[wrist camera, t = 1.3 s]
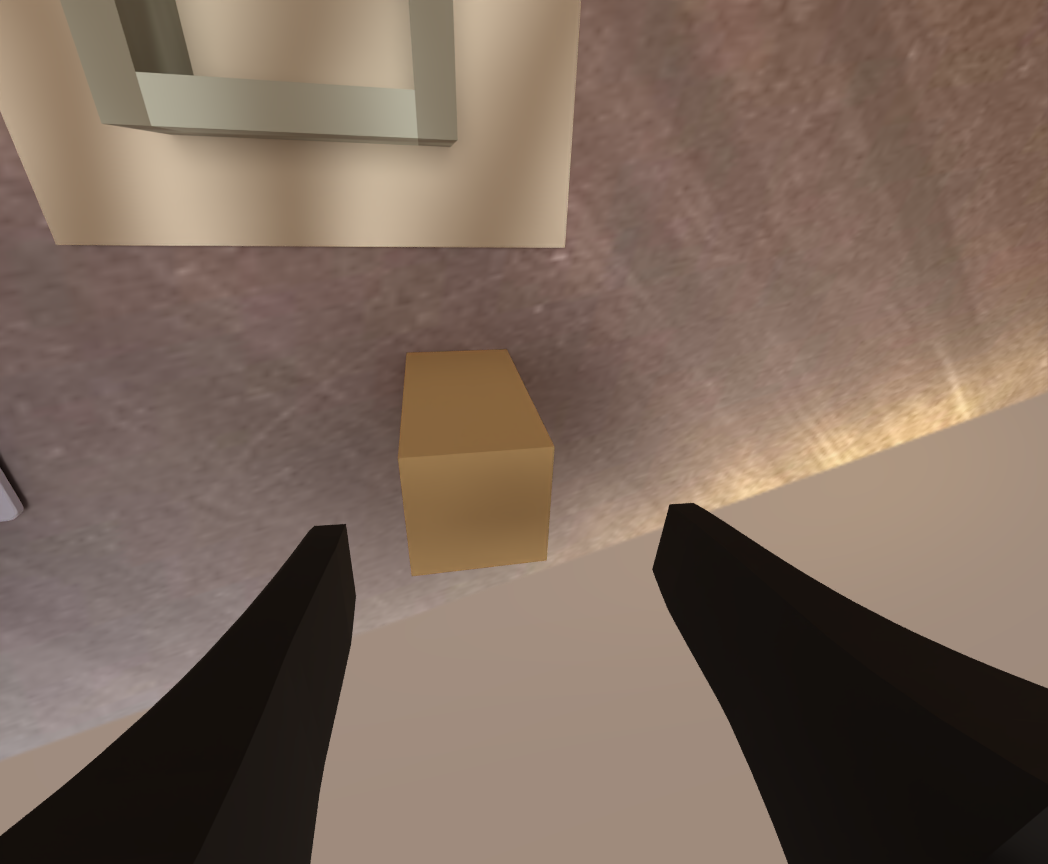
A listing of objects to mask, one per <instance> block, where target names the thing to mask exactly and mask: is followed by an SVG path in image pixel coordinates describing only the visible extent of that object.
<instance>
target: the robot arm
mask: <svg viewBox="0 0 1048 864" xmlns="http://www.w3.org/2000/svg"><path fill="white" fill-rule="evenodd" d="M23 509H24V508H23V505H22V503H21V501H20V500H19V498H18V496H17V495H16V493H15V491H14V490H13V488H12V486H11V485H10V483H9V481H8V480H7V478H6V476H5V475H4V473H3V471H2V470H1V468H0V522H2V521H10V520H13V519H15V518H16V517H17V516H19V515H20V514H21V513H22V512H23ZM652 570H653V573H654V575H655V578H656V581H657V583H658V586H659V588H660V591H661V594H662V596H663V598H664V601H665V603H666V606H667V608H668V610H669V612H670V614H671V616H672V618H673V620H674V622H675V624H676V625H677V627H678V629H679V631H680V633H681V634H682V636H683V638H684V640H685V642H686V644H687V645H688V647H689V649H690V651H691V653H692V654H693V656H694V658H695V660H696V662H697V663H698V665H699V667H700V668H701V670H702V672H703V674H704V676H705V678H706V679H707V681H708V683H709V685H710V686H711V688H712V690H713V692H714V694H715V696H716V697H717V699H718V701H719V703H720V705H721V707H722V709H723V710H724V713H725V715H726V716H727V719H728V720H729V722H730V725H731V727H732V729H733V731H734V734H735V736H736V738H737V740H738V742H739V745H740V747H741V749H742V752H743V754H744V756H745V758H746V761H747V763H748V765H749V767H750V770H751V772H752V774H753V777H754V779H755V782H756V784H757V786H758V789H759V791H760V794H761V796H762V799H763V801H764V803H765V806H766V808H767V811H768V813H769V815H770V818H771V820H772V823H773V825H774V828H775V830H776V833H777V836H778V838H779V841H780V844H781V846H782V848H783V851H784V854H785V857H786V859H787V862H788V864H1048V688H1045V687H1043V686H1040V685H1038V684H1035V683H1032V682H1030V681H1027V680H1025V679H1022V678H1020V677H1017V676H1014V675H1012V674H1009V673H1007V672H1004V671H1002V670H999V669H996V668H994V667H992V666H989V665H987V664H985V663H982V662H980V661H977V660H975V659H973V658H970V657H968V656H966V655H963V654H961V653H959V652H956V651H954V650H952V649H950V648H947V647H945V646H943V645H941V644H939V643H937V642H934V641H932V640H930V639H928V638H925V637H923V636H921V635H919V634H917V633H914V632H912V631H910V630H908V629H906V628H904V627H902V626H900V625H898V624H896V623H894V622H892V621H890V620H888V619H886V618H884V617H882V616H880V615H878V614H877V613H874V612H873V611H871V610H868V609H867V608H865V607H863V606H861V605H859V604H857V603H855V602H853V601H852V600H850V599H848V598H846V597H844V596H843V595H841V594H839V593H837V592H835V591H834V590H832V589H830V588H829V587H827V586H825V585H824V584H822V583H820V582H818V581H817V580H815V579H813V578H812V577H810V576H808V575H806V574H805V573H803V572H802V571H800V570H798V569H797V568H795V567H793V566H792V565H790V564H789V563H787V562H785V561H784V560H782V559H781V558H779V557H778V556H776V555H774V554H773V553H771V552H770V551H768V550H767V549H765V548H763V547H762V546H760V545H759V544H757V543H756V542H754V541H753V540H751V539H750V538H748V537H747V536H745V535H744V534H742V533H741V532H739V531H737V530H736V529H735V528H733V527H732V526H730V525H728V524H727V523H725V522H724V521H722V520H721V519H719V518H718V517H716V516H714V515H713V514H711V513H710V512H708V511H706V510H705V509H703V508H701V507H700V506H698V505H696V504H694V503H685V504H670V505H669V509H668V513H667V516H666V520H665V524H664V528H663V531H662V535H661V539H660V543H659V546H658V550H657V554H656V558H655V561H654V565H653V569H652ZM355 601H356V593H355V586H354V579H353V571H352V564H351V557H350V550H349V543H348V536H347V528H346V524H340V525H323V526H314V527H313V528H312V529H311V530H310V531H309V532H308V533H307V534H306V536H305V537H304V538H303V540H302V541H301V542H300V544H299V545H298V546H297V548H296V549H295V550H294V552H293V553H292V554H291V556H290V557H289V558H288V560H287V561H286V562H285V563H284V565H283V566H282V567H281V568H280V570H279V571H278V572H277V574H276V575H275V576H274V577H273V579H272V580H271V581H270V582H269V583H268V585H267V586H266V587H265V588H264V589H263V591H262V592H261V593H260V594H259V595H258V597H257V598H256V599H255V600H254V601H253V603H252V604H251V605H250V606H249V607H248V608H247V610H246V611H245V612H244V613H243V614H242V615H241V617H240V618H239V619H238V620H237V621H236V622H235V623H234V624H233V625H232V626H231V627H230V629H229V630H228V631H227V632H226V633H225V634H224V635H223V636H222V637H221V638H220V639H219V641H218V642H217V643H216V644H215V645H214V646H213V647H212V648H211V649H210V650H209V651H208V653H207V654H206V655H205V656H204V657H203V658H202V659H201V660H200V661H199V662H198V663H197V664H196V665H195V666H194V667H193V668H192V669H191V670H190V671H189V672H188V673H187V674H186V675H185V676H184V677H183V678H182V679H181V680H180V681H179V682H178V683H177V684H176V685H175V686H174V687H173V688H172V689H171V690H170V691H169V692H168V693H167V694H166V695H165V696H163V697H162V698H161V699H160V700H159V701H158V702H157V703H156V704H155V705H154V706H153V707H152V708H151V709H150V710H149V711H148V712H147V713H146V714H144V715H143V716H142V717H141V718H140V719H139V720H138V721H137V722H136V723H134V724H133V725H132V726H131V727H130V728H129V729H128V730H127V731H126V732H124V733H123V734H122V735H121V736H120V737H119V738H118V739H117V740H116V741H114V742H113V743H112V744H111V745H110V746H109V747H108V748H106V749H105V750H104V751H103V752H102V753H101V754H100V755H99V756H97V757H96V758H95V759H94V760H93V761H92V762H90V763H89V764H88V765H87V766H86V767H85V768H84V769H82V770H81V771H80V772H79V773H78V774H77V775H75V776H74V777H73V778H72V779H71V780H69V781H68V782H67V783H66V784H65V785H63V786H62V787H61V788H60V789H59V790H57V791H56V792H55V793H54V794H52V795H51V796H50V797H49V798H47V799H46V800H45V801H43V802H42V803H41V804H40V805H39V806H37V807H36V808H35V809H33V811H31V812H30V813H29V814H27V815H26V816H25V817H23V818H22V819H21V820H20V821H18V822H17V823H16V824H15V825H13V826H12V827H11V828H10V829H8V830H7V831H6V832H5V833H3V834H2V835H1V836H0V864H310V862H311V861H310V860H311V853H312V846H313V838H314V831H315V823H316V816H317V808H318V801H319V793H320V787H321V782H322V776H323V771H324V765H325V760H326V755H327V751H328V746H329V742H330V737H331V733H332V728H333V724H334V719H335V715H336V710H337V705H338V701H339V697H340V692H341V687H342V683H343V679H344V674H345V669H346V665H347V660H348V655H349V651H350V646H351V639H352V630H353V621H354V611H355Z"/></svg>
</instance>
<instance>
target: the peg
mask: <svg viewBox="0 0 1048 864" xmlns="http://www.w3.org/2000/svg"><path fill="white" fill-rule="evenodd" d="M553 460H554V445H553V443H552V441H551V439H550V437H549V435H548V433H547V431H546V429H545V426H544V424H543V422H542V420H541V418H540V416H539V414H538V412H537V410H536V408H535V406H534V404H533V402H532V400H531V398H530V396H529V394H528V392H527V390H526V388H525V386H524V384H523V382H522V380H521V378H520V375H519V373H518V371H517V369H516V367H515V365H514V363H513V361H512V359H511V357H510V355H509V353H508V351H507V349H501V350H471V351H442V352H412V353H407V354H406V366H405V379H404V391H403V403H402V415H401V427H400V440H399V452H398V463H399V471H400V480H401V488H402V497H403V505H404V514H405V523H406V531H407V540H408V548H409V557H410V565H411V574H412V576H418V575H427V574H435V573H444V572H452V571H461V570H469V569H478V568H486V567H494V566H503V565H511V564H520V563H528V562H537V561H545V560H547V547H548V533H549V518H550V504H551V489H552V475H553Z"/></svg>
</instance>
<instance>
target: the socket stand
mask: <svg viewBox="0 0 1048 864" xmlns="http://www.w3.org/2000/svg"><path fill="white" fill-rule="evenodd" d="M580 9H581V0H0V111H1V114H2V116H3V119H4V121H5V123H6V126H7V128H8V130H9V133H10V135H11V138H12V140H13V142H14V145H15V147H16V150H17V152H18V154H19V157H20V159H21V161H22V164H23V166H24V169H25V171H26V173H27V176H28V178H29V181H30V183H31V185H32V188H33V190H34V193H35V195H36V197H37V200H38V202H39V204H40V207H41V209H42V212H43V214H44V216H45V219H46V221H47V224H48V226H49V228H50V231H51V233H52V236H53V238H54V240H55V243H56V245H166V246H343V247H520V248H565V236H566V221H567V206H568V190H569V175H570V160H571V145H572V130H573V115H574V100H575V84H576V69H577V54H578V39H579V24H580Z"/></svg>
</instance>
